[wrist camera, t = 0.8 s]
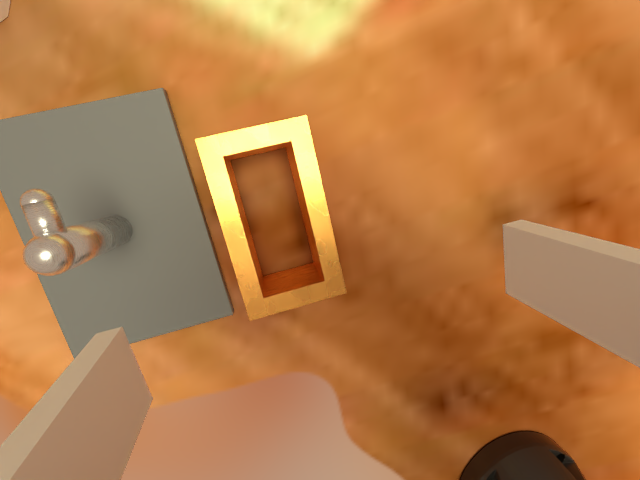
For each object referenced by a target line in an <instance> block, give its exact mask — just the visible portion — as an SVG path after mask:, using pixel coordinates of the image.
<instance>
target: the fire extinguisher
mask: <svg viewBox="0 0 640 480" xmlns="http://www.w3.org/2000/svg"><path fill="white" fill-rule="evenodd" d="M10 1H11V0H0V22H1V21H3V20H4V19H5V18H7V17H8V14H9V7H10Z"/></svg>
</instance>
